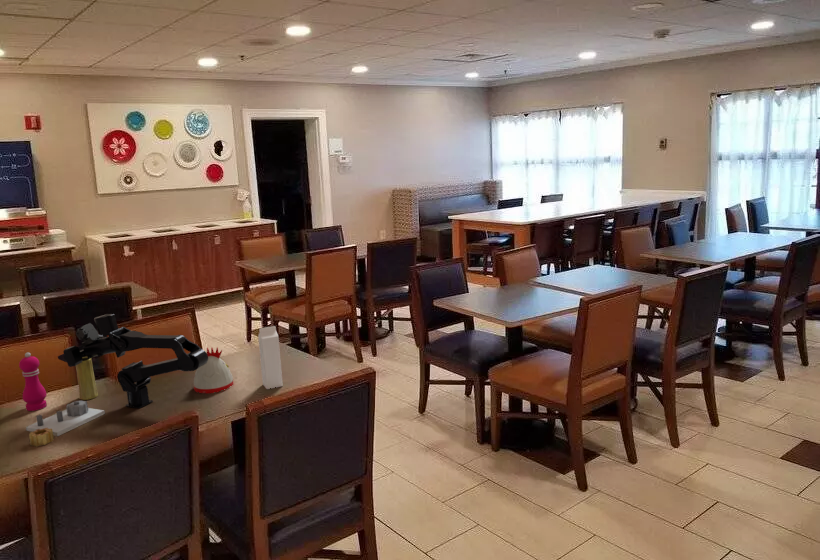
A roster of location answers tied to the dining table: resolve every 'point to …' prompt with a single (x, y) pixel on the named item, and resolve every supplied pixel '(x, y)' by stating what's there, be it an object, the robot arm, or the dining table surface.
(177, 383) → the dining table surface
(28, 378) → the pepper mill
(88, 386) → the vase
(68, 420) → the gear board
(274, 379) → the milk
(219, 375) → the kitchen timer
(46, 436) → the gear
